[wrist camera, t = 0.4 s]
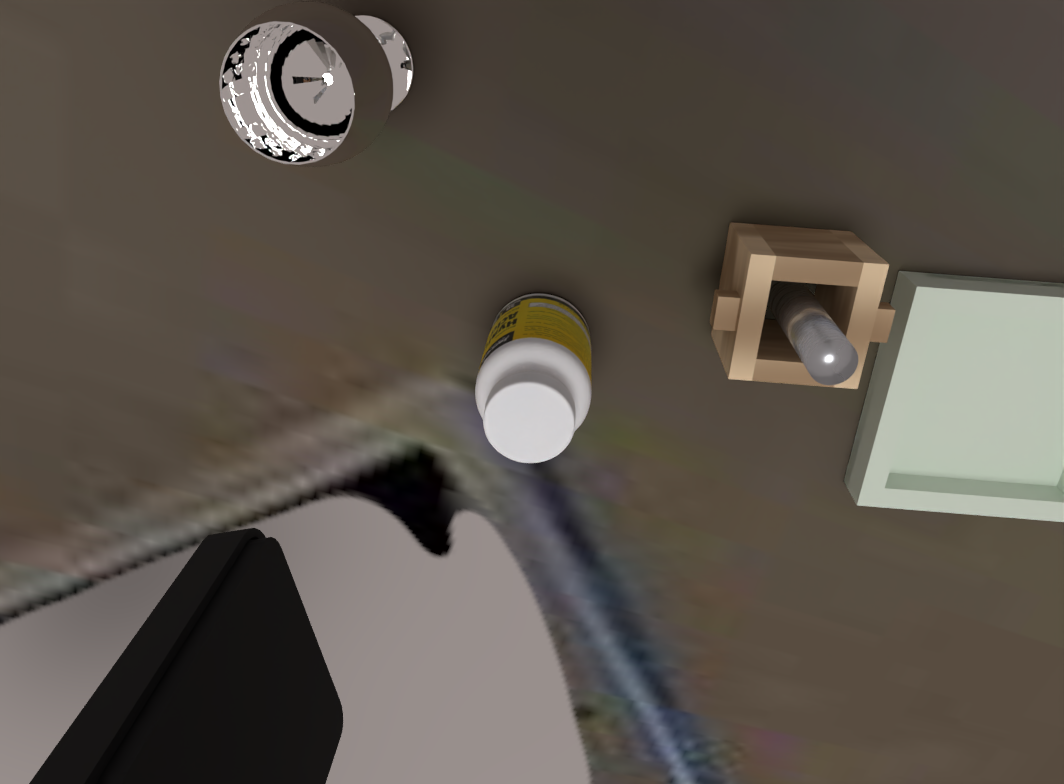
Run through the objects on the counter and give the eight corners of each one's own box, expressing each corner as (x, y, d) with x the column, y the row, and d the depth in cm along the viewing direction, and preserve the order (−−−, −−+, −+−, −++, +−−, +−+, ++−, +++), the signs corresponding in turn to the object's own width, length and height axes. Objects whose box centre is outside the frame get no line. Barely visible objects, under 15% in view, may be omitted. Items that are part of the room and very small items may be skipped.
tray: (898, 270, 42) (917, 286, 40) (1147, 289, 42) (1179, 306, 40) (843, 481, 48) (857, 505, 45) (1063, 498, 47) (1087, 523, 45)
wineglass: (400, -20, 38) (330, -24, 27) (445, 108, 40) (396, 152, 29) (285, 23, 39) (172, 35, 28) (334, 146, 41) (248, 201, 30)
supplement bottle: (510, 274, 43) (494, 347, 35) (606, 313, 44) (614, 394, 35) (474, 363, 46) (450, 452, 37) (566, 398, 46) (563, 495, 37)
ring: (709, 220, 42) (728, 252, 37) (871, 232, 42) (912, 266, 36) (692, 333, 44) (706, 377, 39) (844, 344, 44) (878, 390, 39)
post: (762, 264, 42) (813, 337, 33) (802, 267, 42) (863, 341, 33) (755, 301, 43) (803, 383, 34) (794, 304, 43) (852, 387, 34)
